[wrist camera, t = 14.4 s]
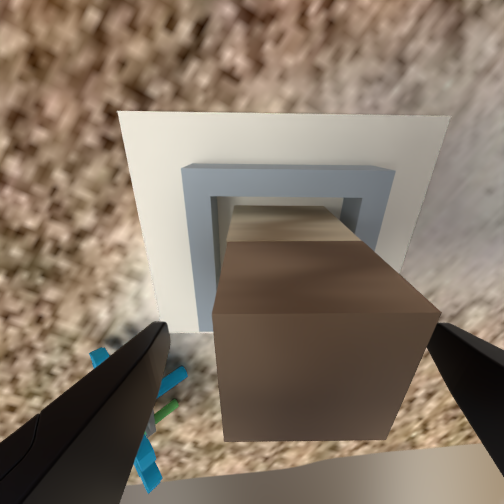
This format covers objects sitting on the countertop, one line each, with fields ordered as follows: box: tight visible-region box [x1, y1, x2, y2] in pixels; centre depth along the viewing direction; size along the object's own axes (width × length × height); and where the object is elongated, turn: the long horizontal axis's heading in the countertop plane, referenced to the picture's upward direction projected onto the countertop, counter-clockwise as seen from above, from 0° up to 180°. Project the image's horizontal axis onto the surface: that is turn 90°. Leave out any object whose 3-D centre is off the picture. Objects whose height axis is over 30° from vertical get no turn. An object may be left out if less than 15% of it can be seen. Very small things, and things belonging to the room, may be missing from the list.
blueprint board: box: [118, 111, 451, 333], centre depth 14 cm, size 16×14×3 cm
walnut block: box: [212, 241, 442, 442], centre depth 8 cm, size 5×5×4 cm
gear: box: [89, 347, 188, 493], centre depth 18 cm, size 11×6×10 cm
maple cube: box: [226, 205, 361, 244], centre depth 12 cm, size 5×5×5 cm
